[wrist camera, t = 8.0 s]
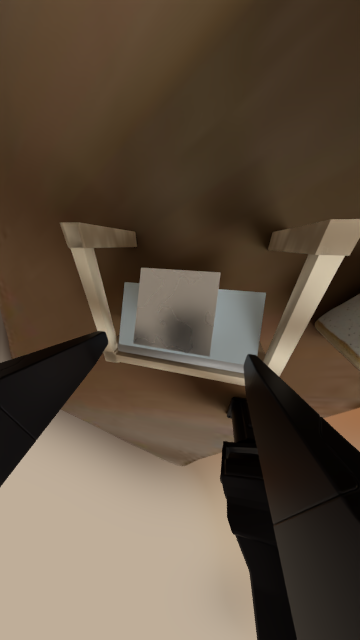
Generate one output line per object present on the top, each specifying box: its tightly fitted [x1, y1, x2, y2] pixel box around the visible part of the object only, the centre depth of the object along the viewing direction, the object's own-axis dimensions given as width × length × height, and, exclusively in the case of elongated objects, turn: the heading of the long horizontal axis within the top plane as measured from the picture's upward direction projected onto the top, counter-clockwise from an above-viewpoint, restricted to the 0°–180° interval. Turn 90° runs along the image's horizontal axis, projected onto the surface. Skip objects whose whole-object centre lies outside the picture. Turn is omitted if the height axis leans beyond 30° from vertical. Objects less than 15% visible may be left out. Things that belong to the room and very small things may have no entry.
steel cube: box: [133, 268, 221, 357], centre depth 11 cm, size 5×5×5 cm
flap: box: [118, 282, 266, 373], centre depth 14 cm, size 8×14×1 cm, turn 88°
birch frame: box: [60, 219, 360, 386], centre depth 15 cm, size 14×18×8 cm
